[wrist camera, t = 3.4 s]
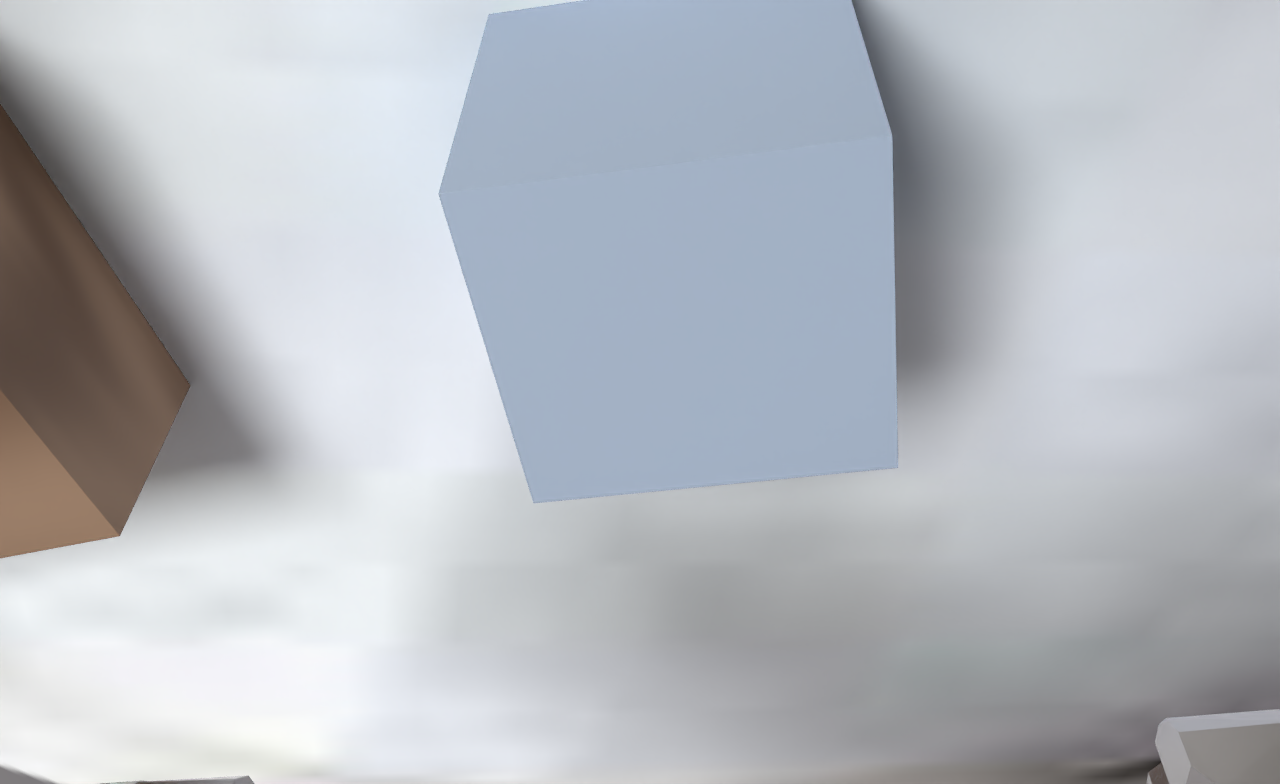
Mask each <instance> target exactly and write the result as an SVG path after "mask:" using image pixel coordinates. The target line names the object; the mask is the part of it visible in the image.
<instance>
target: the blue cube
mask: <svg viewBox="0 0 1280 784" xmlns="http://www.w3.org/2000/svg"><path fill="white" fill-rule="evenodd" d="M439 197H440V200H441V204H442V207H443V210H444V213H445V217H446V220H447V223H448V226H449V230H450V233H451V236H452V239H453V243H454V246H455V249H456V252H457V256H458V259H459V262H460V265H461V269H462V272H463V275H464V278H465V282H466V285H467V288H468V291H469V295H470V298H471V301H472V304H473V308H474V311H475V314H476V317H477V321H478V324H479V327H480V330H481V334H482V337H483V340H484V343H485V347H486V350H487V353H488V356H489V360H490V363H491V366H492V369H493V373H494V376H495V379H496V382H497V386H498V389H499V392H500V395H501V399H502V402H503V405H504V408H505V412H506V415H507V418H508V421H509V425H510V428H511V431H512V434H513V438H514V441H515V444H516V447H517V451H518V454H519V457H520V460H521V464H522V467H523V470H524V473H525V477H526V480H527V483H528V487H529V490H530V493H531V496H532V500H533V503H541V502H552V501H562V500H572V499H582V498H593V497H603V496H613V495H623V494H634V493H644V492H654V491H664V490H675V489H685V488H695V487H705V486H716V485H726V484H736V483H746V482H757V481H767V480H777V479H787V478H798V477H808V476H818V475H828V474H839V473H849V472H859V471H869V470H880V469H890V468H898V432H897V375H896V318H895V260H894V203H893V146H892V133H891V129H890V126H889V123H888V119H887V116H886V113H885V109H884V106H883V103H882V99H881V96H880V93H879V90H878V86H877V83H876V80H875V76H874V73H873V70H872V66H871V63H870V60H869V57H868V53H867V50H866V47H865V43H864V40H863V37H862V33H861V30H860V27H859V23H858V20H857V17H856V14H855V10H854V7H853V4H852V0H583V1H576V2H570V3H563V4H556V5H549V6H542V7H535V8H529V9H522V10H515V11H508V12H501V13H494V14H489V16H488V20H487V23H486V27H485V30H484V34H483V37H482V41H481V44H480V48H479V52H478V55H477V59H476V62H475V66H474V69H473V73H472V76H471V80H470V84H469V87H468V91H467V94H466V98H465V101H464V105H463V109H462V112H461V116H460V119H459V123H458V126H457V130H456V133H455V137H454V141H453V144H452V148H451V151H450V155H449V158H448V162H447V166H446V169H445V173H444V176H443V180H442V183H441V187H440V190H439Z"/></svg>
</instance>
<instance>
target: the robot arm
mask: <svg viewBox="0 0 1280 784" xmlns="http://www.w3.org/2000/svg"><path fill="white" fill-rule="evenodd" d="M1155 745H1156V747H1157V750H1158V753H1159V756H1160V759H1161V763H1160V764H1159V765H1157V766H1156V767H1155V768H1153V769H1152V770H1151V771H1149V772H1148V778H1147V784H1280V709H1273V710H1261V711H1248V712H1236V713H1223V714H1210V715H1198V716H1185V717H1172V718H1165V719H1164V720H1163V721H1162V722H1161V723H1160V724H1159V726H1158V730H1157V734H1156V738H1155ZM102 784H254V782H253V781H252V780H251V778H250V777H249V776H235V777H217V778H199V779H181V780H164V781H131V782H116V783H102Z"/></svg>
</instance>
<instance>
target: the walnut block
mask: <svg viewBox="0 0 1280 784" xmlns="http://www.w3.org/2000/svg"><path fill="white" fill-rule="evenodd" d="M189 387H190V384H189V383H188V381H187V380H186V378H185V377H184V375H183V374H182V372H181V371H180V369H179V368H178V366H177V365H176V363H175V362H174V360H173V359H172V357H171V356H170V354H169V353H168V351H167V350H166V348H165V347H164V346H163V344H162V343H161V341H160V340H159V338H158V337H157V335H156V334H155V332H154V331H153V329H152V328H151V326H150V325H149V323H148V322H147V320H146V319H145V317H144V316H143V314H142V313H141V311H140V310H139V308H138V307H137V306H136V304H135V303H134V301H133V300H132V298H131V297H130V295H129V294H128V292H127V291H126V289H125V288H124V286H123V285H122V283H121V282H120V280H119V279H118V277H117V276H116V274H115V273H114V271H113V270H112V268H111V267H110V266H109V264H108V263H107V261H106V260H105V258H104V257H103V255H102V254H101V252H100V251H99V249H98V248H97V246H96V245H95V243H94V242H93V240H92V239H91V237H90V236H89V234H88V233H87V231H86V230H85V228H84V227H83V226H82V224H81V223H80V221H79V220H78V218H77V217H76V215H75V214H74V212H73V211H72V209H71V208H70V206H69V205H68V203H67V202H66V200H65V199H64V197H63V196H62V194H61V193H60V191H59V190H58V188H57V187H56V186H55V184H54V183H53V181H52V180H51V178H50V177H49V175H48V174H47V172H46V171H45V169H44V168H43V166H42V165H41V163H40V162H39V160H38V159H37V157H36V156H35V154H34V153H33V151H32V150H31V148H30V147H29V146H28V144H27V143H26V141H25V140H24V138H23V137H22V135H21V134H20V132H19V131H18V129H17V128H16V126H15V125H14V123H13V122H12V120H11V119H10V117H9V116H8V114H7V113H6V111H5V110H4V108H3V107H2V106H1V104H0V558H4V557H10V556H15V555H20V554H26V553H31V552H37V551H42V550H47V549H53V548H58V547H63V546H69V545H74V544H80V543H85V542H90V541H96V540H101V539H106V538H112V537H117V536H120V534H121V532H122V530H123V528H124V526H125V524H126V522H127V520H128V517H129V515H130V513H131V511H132V509H133V507H134V505H135V502H136V500H137V498H138V496H139V494H140V492H141V490H142V488H143V485H144V483H145V481H146V479H147V477H148V475H149V473H150V471H151V468H152V466H153V464H154V462H155V460H156V458H157V456H158V453H159V451H160V449H161V447H162V445H163V443H164V441H165V439H166V436H167V434H168V432H169V430H170V428H171V426H172V424H173V422H174V419H175V417H176V415H177V413H178V411H179V409H180V407H181V404H182V402H183V400H184V398H185V396H186V394H187V392H188V390H189Z"/></svg>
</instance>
